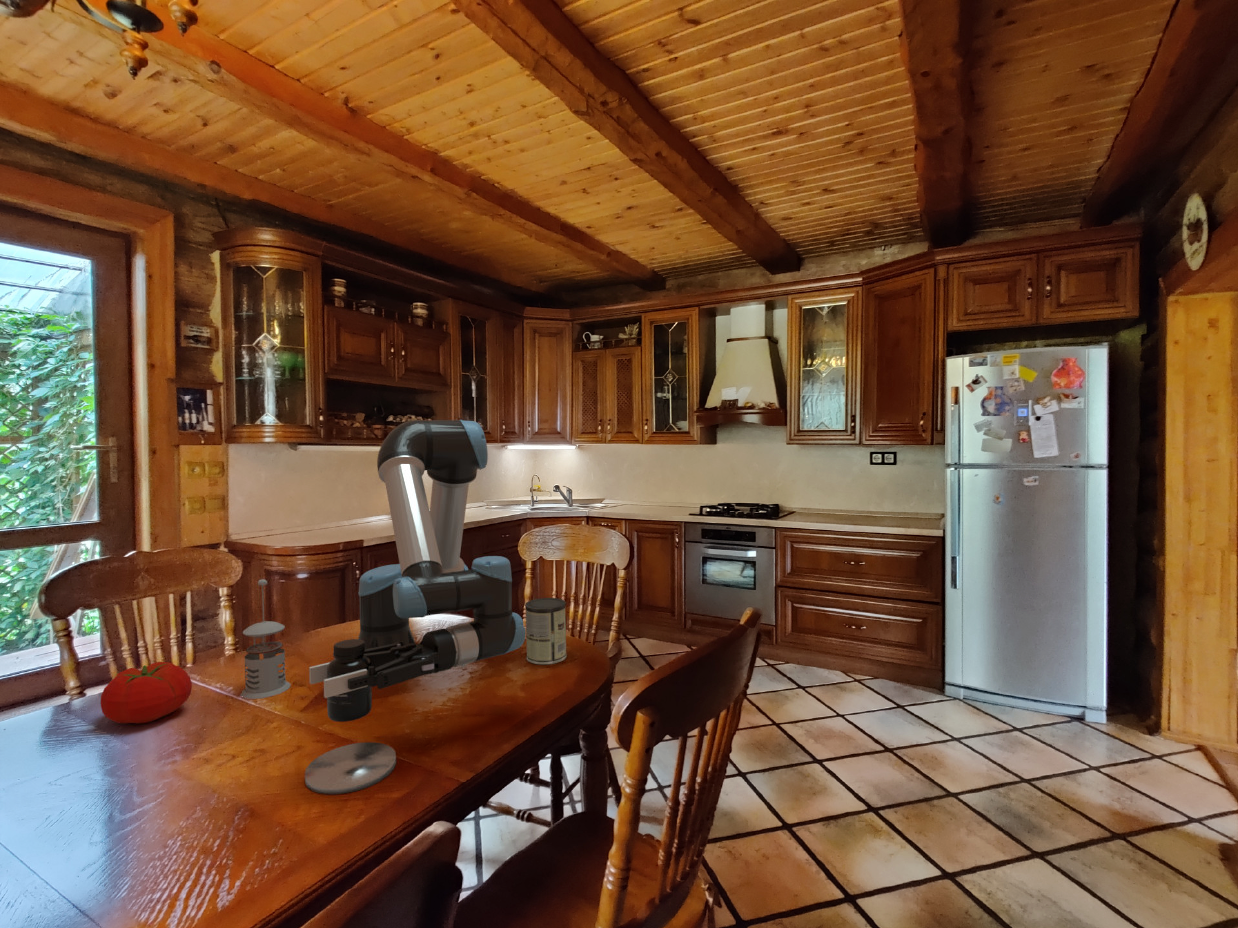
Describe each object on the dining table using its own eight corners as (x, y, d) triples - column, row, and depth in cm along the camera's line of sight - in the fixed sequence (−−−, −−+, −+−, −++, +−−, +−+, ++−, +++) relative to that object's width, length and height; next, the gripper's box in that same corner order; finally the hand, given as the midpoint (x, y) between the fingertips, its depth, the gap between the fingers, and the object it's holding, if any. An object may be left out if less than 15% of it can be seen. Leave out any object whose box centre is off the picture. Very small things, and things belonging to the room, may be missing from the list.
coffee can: (531, 649, 159) (530, 597, 159) (569, 650, 158) (569, 597, 158) (521, 664, 149) (520, 608, 149) (562, 665, 148) (561, 608, 147)
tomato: (173, 694, 133) (171, 650, 133) (204, 713, 124) (202, 666, 123) (89, 719, 121) (87, 671, 121) (116, 742, 112) (113, 690, 111)
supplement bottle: (328, 726, 96) (326, 652, 96) (327, 710, 103) (325, 640, 102) (374, 717, 100) (372, 645, 99) (370, 701, 106) (368, 634, 105)
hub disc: (294, 769, 102) (294, 762, 102) (377, 740, 111) (377, 734, 111) (320, 805, 92) (320, 797, 92) (409, 770, 101) (409, 763, 101)
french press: (244, 702, 128) (240, 586, 127) (235, 686, 137) (231, 577, 136) (295, 689, 135) (292, 579, 134) (283, 675, 144) (279, 571, 143)
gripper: (475, 682, 106) (338, 725, 90) (425, 654, 120) (299, 687, 105) (474, 640, 106) (337, 675, 90) (424, 617, 120) (298, 644, 104)
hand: (317, 682), depth 97 cm, fingers closed on supplement bottle, 7 cm apart
